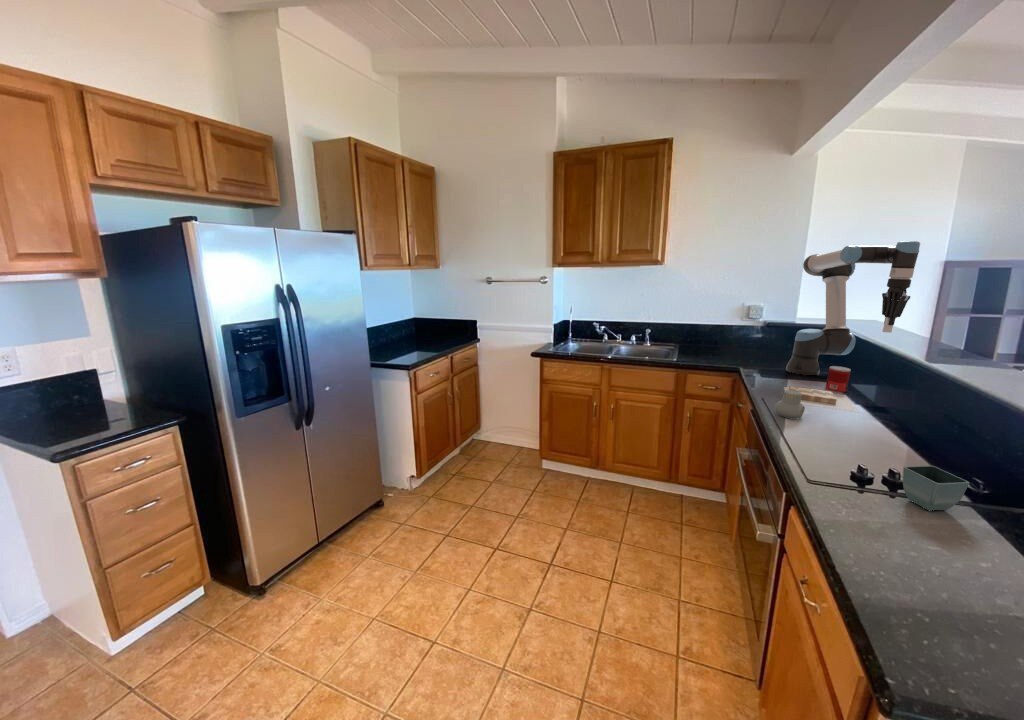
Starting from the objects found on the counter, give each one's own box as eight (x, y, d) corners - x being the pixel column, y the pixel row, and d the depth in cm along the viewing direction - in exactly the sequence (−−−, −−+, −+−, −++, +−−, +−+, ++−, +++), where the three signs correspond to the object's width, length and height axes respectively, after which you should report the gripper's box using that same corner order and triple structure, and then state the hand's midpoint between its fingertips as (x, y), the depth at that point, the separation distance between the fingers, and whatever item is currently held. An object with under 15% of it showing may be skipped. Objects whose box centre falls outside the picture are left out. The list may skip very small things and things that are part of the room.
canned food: (849, 393, 197) (854, 370, 194) (829, 392, 198) (834, 369, 196) (840, 388, 204) (845, 366, 201) (821, 387, 206) (826, 365, 203)
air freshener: (780, 410, 175) (784, 386, 172) (804, 415, 169) (808, 391, 167) (772, 416, 167) (776, 392, 165) (797, 423, 162) (801, 398, 159)
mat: (783, 388, 204) (783, 386, 203) (845, 396, 193) (845, 395, 193) (788, 403, 183) (788, 401, 183) (857, 413, 172) (858, 412, 172)
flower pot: (894, 496, 113) (902, 466, 111) (924, 495, 114) (933, 465, 112) (928, 516, 104) (937, 483, 102) (960, 515, 105) (971, 482, 103)
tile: (830, 396, 190) (788, 390, 198) (831, 391, 190) (789, 385, 197) (835, 404, 180) (791, 398, 187) (836, 399, 180) (792, 393, 187)
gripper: (879, 277, 190) (867, 329, 196) (902, 279, 178) (888, 334, 184) (897, 277, 189) (884, 329, 196) (922, 279, 177) (907, 335, 183)
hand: (886, 332), depth 190 cm, fingers closed
